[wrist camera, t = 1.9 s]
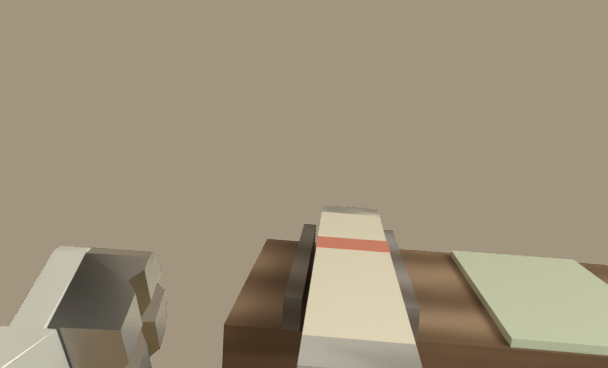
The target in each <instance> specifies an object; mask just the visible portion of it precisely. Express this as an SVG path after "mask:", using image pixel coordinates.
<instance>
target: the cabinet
mask: <svg viewBox="0 0 608 368" xmlns="http://www.w3.org/2000/svg"><path fill="white" fill-rule="evenodd" d="M383 231H384V234H385V238H386V241H387V242H388V246H389V249H390V255H391V259H392V262H393V266H394V269H395V273H396V276H397V280H398V283H399V287H400V290H401V294H402V297H403V301H404V304H405V308H406V311H407V315H408V318H409V322H410V325H411V329H412V332H413V336H414V339H415V343H416V346H417V350H418V353H419V357H420V360H421V364H422V367H423V368H608V355H597V354H585V353H573V352H562V351H550V350H538V349H526V348H514V347H510V345H509V344H508V342H507V341H506V339H505V338H504V336H503V335H502V333H501V332H500V330H499V328H498V327H497V325H496V324H495V322H494V321H493V319H492V318H491V316H490V315H489V313H488V312H487V310H486V309H485V307H484V306H483V304H482V303H481V301H480V300H479V298H478V297H477V295H476V294H475V292H474V291H473V289H472V287H471V286H470V284H469V283H468V281H467V280H466V278H465V277H464V275H463V274H462V272H461V271H460V269H459V268H458V266H457V265H456V263H455V262H454V260H453V259H452V257H451V253H443V252H428V251H417V250H404V249H399V247H398V245H397V243H396V239H395V237H394V234H393V231H390V230H383ZM315 232H316V225H311V224H304V227H303V230H302V234H301V237H300V241H286V240H274V239H267V241H266V243H265V245H264V247H263V249H262V251H261V253H260V255H259V257H258V258H257V260H256V263H255V264H254V266H253V268H252V270H251V273H250V274H249V276H248V278H247V280H246V282H245V284H244V286H243V288H242V290H241V292H240V294H239V296H238V298H237V300H236V302H235V304H234V306H233V308H232V310H231V312H230V314H229V316H228V318H227V320H226V322H225V324H224V338H223V362H222V368H297V363H298V357H299V351H300V345H301V339H302V333H303V326H304V320H305V314H306V308H307V302H308V296H309V290H310V283H311V277H312V271H313V265H314V259H315V251H316V243H315V234H316V233H315ZM579 264H580V265H581V266H583V267H584V268H586V269H587V270H588V271H590V272H591V273H592V274H594V275H595V276H597V277H598V278H599V279H601V280H602V281H603V282H605V283H606V284H608V266H607V265H599V264H586V263H579Z"/></svg>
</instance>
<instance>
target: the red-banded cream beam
mask: <svg viewBox="0 0 608 368" xmlns="http://www.w3.org/2000/svg"><path fill="white" fill-rule="evenodd" d="M297 368H423V367H422V364H421V360H420V357H419V353H418V350H417V346H416V343H415V339H414V336H413V332H412V329H411V325H410V322H409V318H408V315H407V311H406V308H405V304H404V301H403V297H402V294H401V290H400V287H399V283H398V280H397V276H396V273H395V269H394V266H393V262H392V259H391V255H390V249H389V246H388V242H387V241H386V238H385V234H384V231H383V227H382V224H381V220H380V217H379V213H378V210H377V209H368V208H355V207H341V206H327V205H323V210H322V216H321V222H320V228H319V235H318V236H317V242H316V251H315V259H314V265H313V271H312V277H311V283H310V290H309V296H308V302H307V308H306V314H305V320H304V326H303V333H302V339H301V345H300V351H299V357H298V363H297Z"/></svg>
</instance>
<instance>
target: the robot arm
mask: <svg viewBox="0 0 608 368" xmlns="http://www.w3.org/2000/svg"><path fill="white" fill-rule="evenodd" d="M160 273H161V265H160V261H159V256H158V254H156V253H154V252H145V251H132V250H118V249H105V248H82V247H70V246H60V247H59V248H57V249H56V250H54V251H53V252H52V254H51V255H50V257H49V259H48V261H47V262H46V264H45V265H44V267H43V269H42V270H41V272H40V274H39V275H38V277H37V279H36V280H35V282H34V284H33V285H32V287H31V289H30V291H29V293H28V294H27V296H26V297H25V299H24V301H23V302H22V304H21V306H20V307H19V309H18V311H17V312H16V314H15V316H14V317H13V319H12V321H11V322H10V324H9V326H0V368H152V367H151V362H150V356H151V355H152V354H154V353H155V352H156V351H157V350H159V349H160V346H161V343H162V339H163V336H164V332H165V325H166V318H167V300H166V293H165V290H164V289H163V288H162V287H161V286H160V285H159V284H158V283H157V282H158V279H159V276H160Z"/></svg>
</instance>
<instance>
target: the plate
mask: <svg viewBox="0 0 608 368" xmlns="http://www.w3.org/2000/svg"><path fill="white" fill-rule="evenodd" d="M451 257H452V259H453V260H454V262H455V263H456V265H457V266H458V268H459V269H460V271H461V272H462V274H463V275H464V277H465V278H466V280H467V281H468V283H469V284H470V286H471V287H472V289H473V291H474V292H475V294H476V295H477V297H478V298H479V300H480V301H481V303H482V304H483V306H484V307H485V309H486V310H487V312H488V313H489V315H490V316H491V318H492V319H493V321H494V322H495V324H496V325H497V327H498V328H499V330H500V332H501V333H502V335H503V336H504V338H505V339H506V341H507V342H508V344H509V345H510V347H514V348H526V349H538V350H550V351H562V352H573V353H585V354H597V355H608V284H606V283H605V282H603V281H602V280H601V279H599V278H598V277H597V276H595V275H594V274H592V273H591V272H590V271H588V270H587V269H586V268H584V267H583V266H581V265H580V264H579V263H577V262H576V261H575V260H569V259H556V258H543V257H530V256H517V255H504V254H490V253H478V252H464V251H452V252H451Z"/></svg>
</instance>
